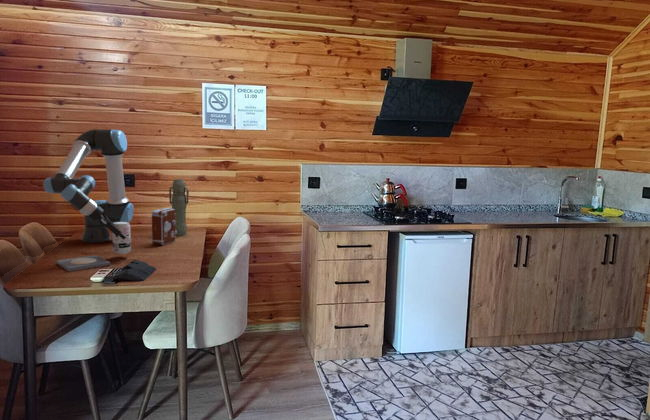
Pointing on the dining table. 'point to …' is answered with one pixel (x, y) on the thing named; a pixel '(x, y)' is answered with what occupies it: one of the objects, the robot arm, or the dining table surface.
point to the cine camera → (163, 226)
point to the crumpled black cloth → (135, 271)
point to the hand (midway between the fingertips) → (128, 240)
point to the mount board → (83, 263)
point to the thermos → (179, 205)
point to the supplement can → (118, 243)
